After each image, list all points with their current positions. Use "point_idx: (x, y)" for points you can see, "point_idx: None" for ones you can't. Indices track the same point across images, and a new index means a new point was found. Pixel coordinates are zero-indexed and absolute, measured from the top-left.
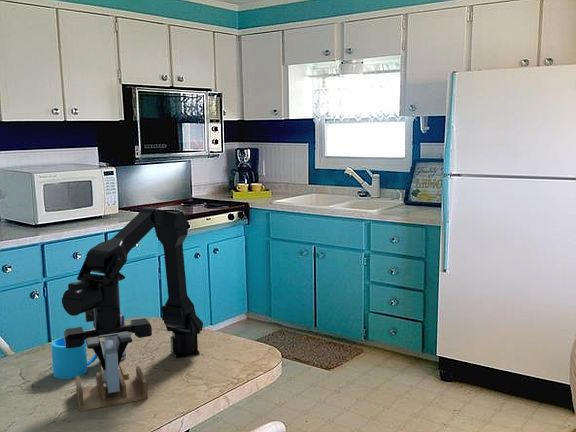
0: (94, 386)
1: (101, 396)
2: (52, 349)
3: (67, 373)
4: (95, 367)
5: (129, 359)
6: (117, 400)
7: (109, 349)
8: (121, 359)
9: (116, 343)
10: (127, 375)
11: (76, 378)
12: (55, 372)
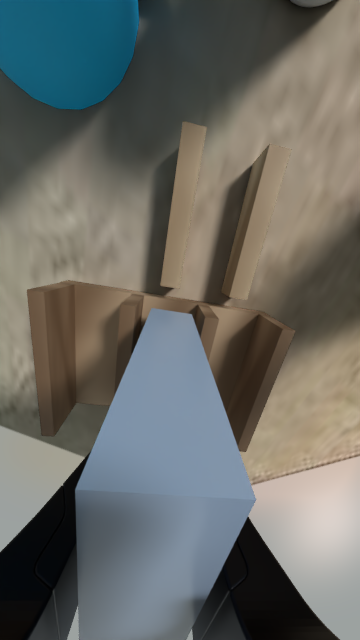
0: (122, 299)
1: None
2: None
3: (19, 77)
4: (179, 25)
5: (353, 27)
6: None
7: None
8: (323, 3)
9: (231, 623)
10: (240, 297)
11: (31, 314)
12: None
